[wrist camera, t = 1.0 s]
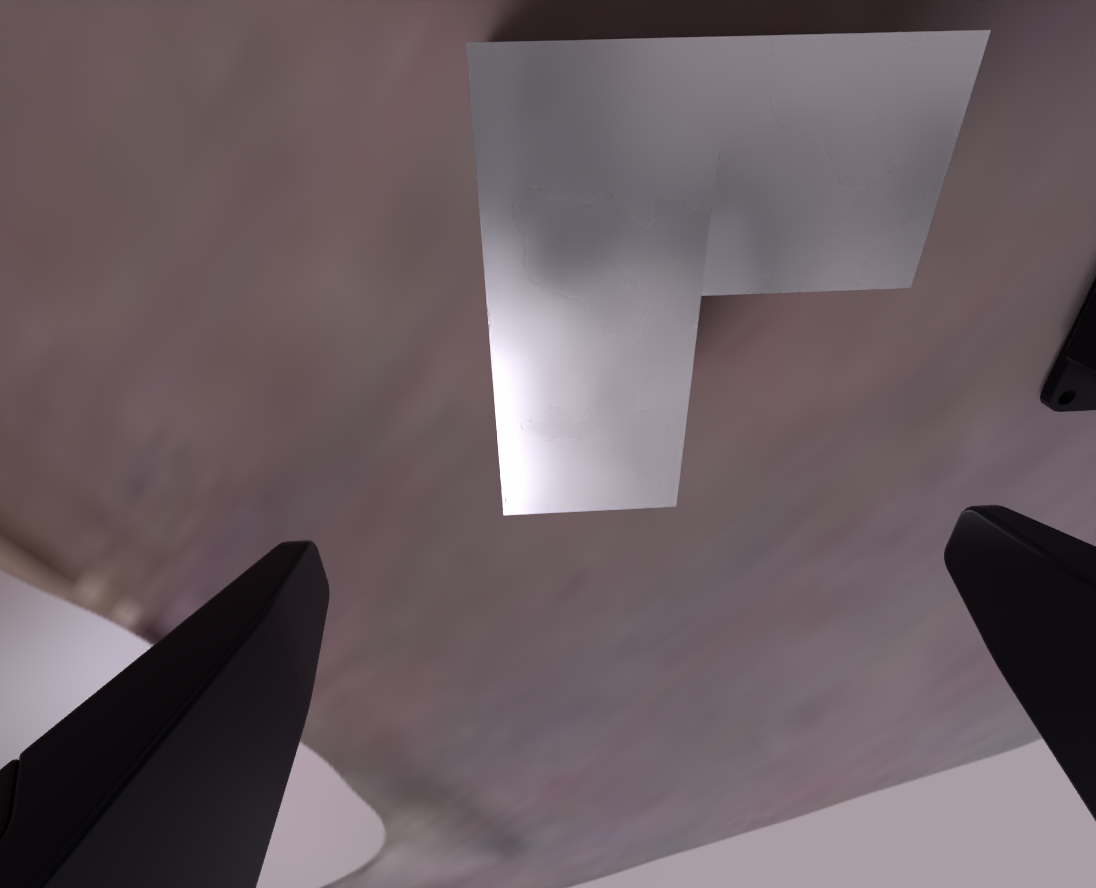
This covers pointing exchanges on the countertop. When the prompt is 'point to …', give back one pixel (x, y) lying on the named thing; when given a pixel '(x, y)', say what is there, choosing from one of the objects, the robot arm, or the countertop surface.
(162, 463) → the countertop surface
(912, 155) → the bracket
